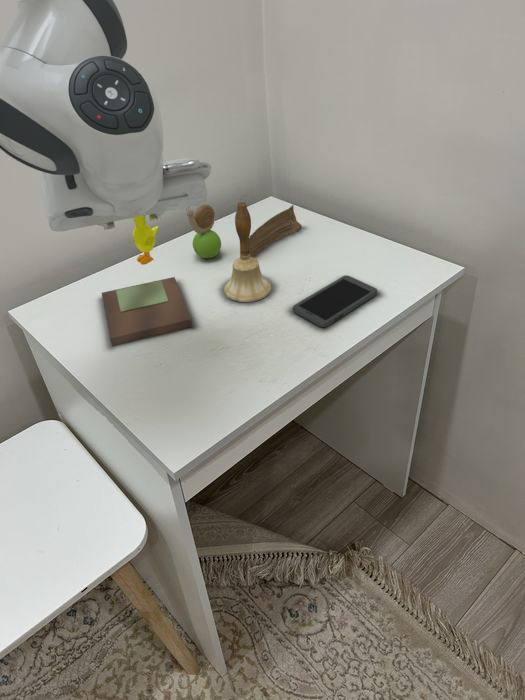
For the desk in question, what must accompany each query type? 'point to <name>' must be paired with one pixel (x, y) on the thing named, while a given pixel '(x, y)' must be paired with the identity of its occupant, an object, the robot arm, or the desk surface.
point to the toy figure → (144, 239)
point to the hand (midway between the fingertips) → (131, 219)
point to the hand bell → (246, 265)
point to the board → (145, 311)
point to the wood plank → (273, 230)
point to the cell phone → (334, 301)
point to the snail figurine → (204, 232)
